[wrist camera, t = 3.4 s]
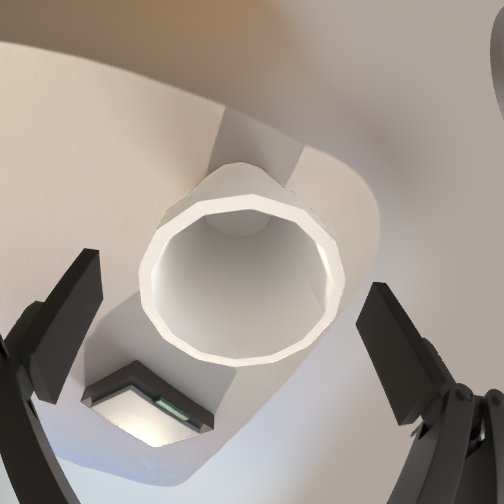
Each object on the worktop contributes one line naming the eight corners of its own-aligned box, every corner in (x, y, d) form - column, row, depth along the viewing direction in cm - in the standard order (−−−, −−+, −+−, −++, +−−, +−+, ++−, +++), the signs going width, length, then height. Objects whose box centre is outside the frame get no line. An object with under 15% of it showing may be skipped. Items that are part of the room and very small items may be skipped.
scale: (214, 415, 40) (213, 434, 37) (156, 435, 43) (154, 452, 40) (137, 359, 34) (131, 380, 31) (84, 388, 37) (78, 406, 34)
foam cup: (183, 138, 23) (133, 187, 12) (303, 148, 24) (365, 205, 12) (180, 248, 28) (149, 360, 16) (286, 255, 28) (317, 367, 17)
